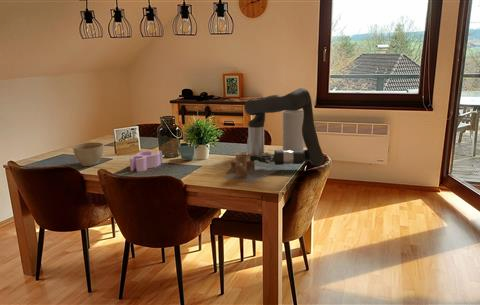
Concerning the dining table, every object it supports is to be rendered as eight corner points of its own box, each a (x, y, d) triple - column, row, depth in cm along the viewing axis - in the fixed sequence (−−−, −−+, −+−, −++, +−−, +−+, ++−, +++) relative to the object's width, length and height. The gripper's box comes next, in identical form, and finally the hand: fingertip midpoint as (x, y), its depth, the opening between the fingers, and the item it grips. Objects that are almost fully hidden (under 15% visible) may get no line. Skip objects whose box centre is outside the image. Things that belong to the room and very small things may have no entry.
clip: (143, 172, 206) (142, 160, 204) (125, 170, 211) (123, 158, 209) (166, 163, 223) (165, 151, 222) (148, 161, 228) (147, 149, 227)
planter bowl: (68, 166, 219) (66, 147, 217) (88, 159, 234) (86, 141, 231) (92, 169, 214) (89, 149, 211) (111, 161, 229) (109, 143, 226)
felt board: (222, 178, 194) (222, 176, 193) (251, 166, 213) (251, 165, 213) (250, 184, 184) (250, 183, 183) (278, 171, 203) (278, 169, 203)
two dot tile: (254, 171, 201) (231, 171, 202) (254, 168, 206) (231, 168, 207) (254, 161, 200) (230, 162, 201) (254, 159, 205) (231, 159, 206)
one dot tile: (236, 178, 190) (235, 154, 187) (236, 175, 195) (236, 152, 192) (246, 178, 190) (246, 154, 187) (246, 175, 195) (246, 151, 192)
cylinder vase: (279, 151, 243) (279, 111, 237) (296, 149, 248) (297, 109, 242) (289, 155, 232) (289, 113, 226) (307, 153, 237) (308, 112, 231)
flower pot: (180, 157, 234) (179, 142, 232) (195, 156, 235) (194, 142, 232) (179, 161, 225) (178, 146, 223) (195, 160, 226) (194, 145, 224)
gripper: (284, 168, 196) (250, 168, 197) (282, 161, 209) (250, 161, 210) (284, 153, 195) (249, 154, 195) (282, 147, 207) (249, 147, 208)
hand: (250, 157), depth 202 cm, fingers closed
